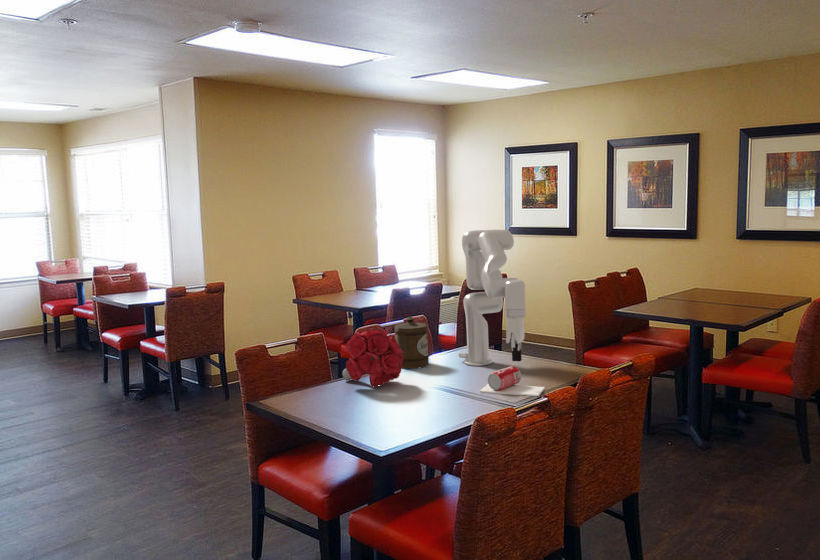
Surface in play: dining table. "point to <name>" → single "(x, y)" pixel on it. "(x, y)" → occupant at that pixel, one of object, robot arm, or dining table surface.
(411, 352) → the wooden container
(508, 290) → the robot arm
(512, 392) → the mat
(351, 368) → the bouquet
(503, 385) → the soda can
